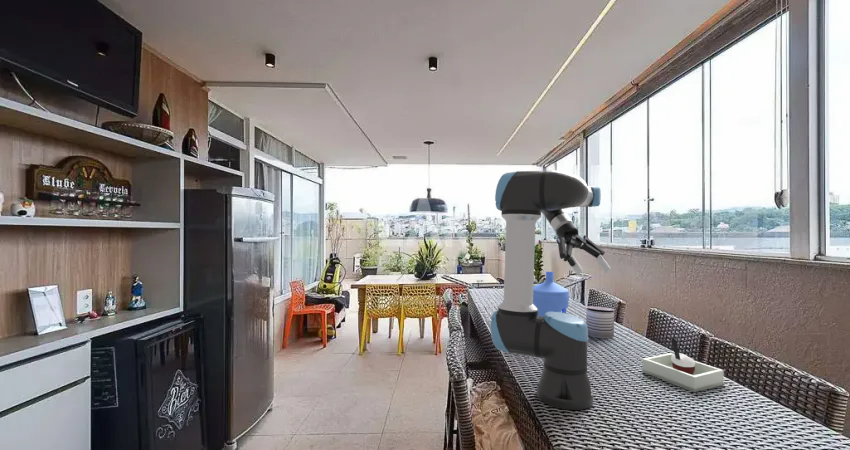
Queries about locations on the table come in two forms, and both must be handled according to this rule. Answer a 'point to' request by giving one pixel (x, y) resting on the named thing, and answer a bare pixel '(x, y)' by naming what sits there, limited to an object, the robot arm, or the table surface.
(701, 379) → the bin
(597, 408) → the table surface
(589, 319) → the can
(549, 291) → the water jug
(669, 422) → the table surface
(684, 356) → the cocoa
